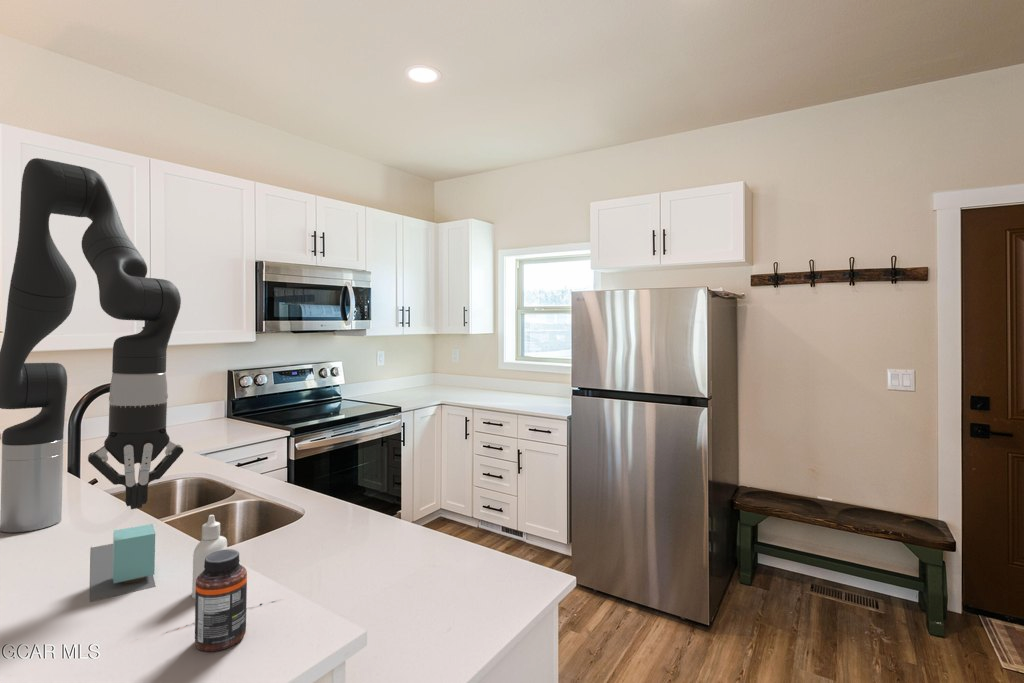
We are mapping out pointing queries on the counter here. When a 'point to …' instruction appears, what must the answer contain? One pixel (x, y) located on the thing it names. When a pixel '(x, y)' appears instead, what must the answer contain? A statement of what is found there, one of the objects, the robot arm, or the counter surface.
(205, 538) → the eye dropper bottle
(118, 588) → the mat
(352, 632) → the counter surface
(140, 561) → the teal rectangular block
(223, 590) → the supplement bottle
